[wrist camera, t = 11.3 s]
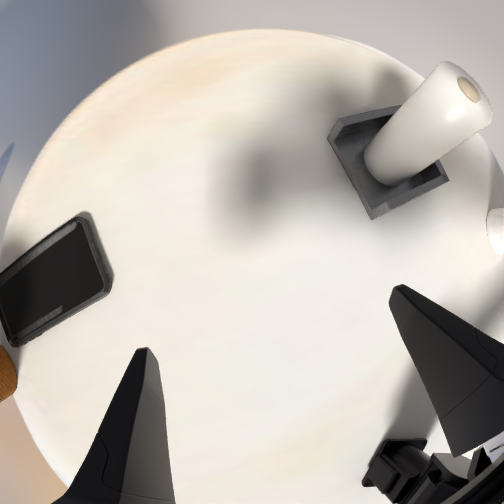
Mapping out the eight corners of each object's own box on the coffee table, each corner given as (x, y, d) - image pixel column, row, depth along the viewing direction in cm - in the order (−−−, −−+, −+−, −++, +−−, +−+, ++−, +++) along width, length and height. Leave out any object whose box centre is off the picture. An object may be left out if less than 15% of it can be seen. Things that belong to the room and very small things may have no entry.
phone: (-10, 282, 20) (82, 211, 22) (-4, 282, 21) (88, 214, 23) (11, 351, 19) (112, 292, 21) (18, 349, 20) (117, 292, 22)
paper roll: (414, 166, 25) (499, 104, 12) (392, 196, 24) (489, 135, 11) (379, 131, 25) (450, 51, 12) (354, 157, 24) (432, 70, 11)
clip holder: (389, 121, 26) (404, 104, 23) (429, 191, 26) (449, 180, 22) (326, 138, 25) (338, 118, 22) (371, 220, 24) (390, 210, 21)
